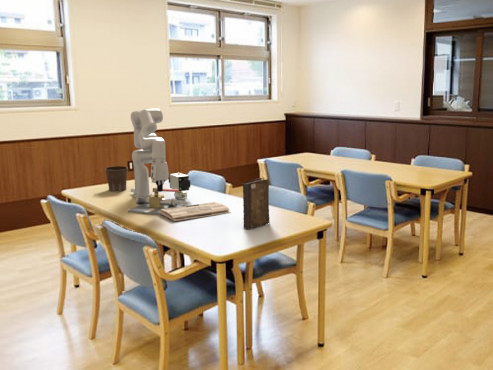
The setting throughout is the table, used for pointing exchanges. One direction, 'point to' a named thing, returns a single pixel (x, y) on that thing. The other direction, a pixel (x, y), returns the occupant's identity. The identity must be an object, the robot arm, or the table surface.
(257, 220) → the book
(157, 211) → the board
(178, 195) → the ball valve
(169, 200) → the valve body
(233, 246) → the table surface
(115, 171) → the plant pot
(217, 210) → the newspaper
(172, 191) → the lever
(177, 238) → the table surface
